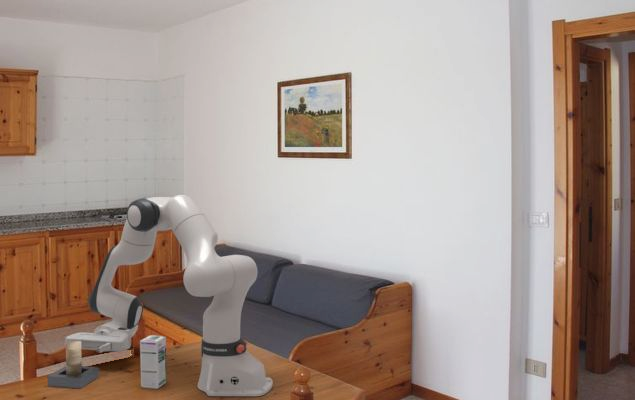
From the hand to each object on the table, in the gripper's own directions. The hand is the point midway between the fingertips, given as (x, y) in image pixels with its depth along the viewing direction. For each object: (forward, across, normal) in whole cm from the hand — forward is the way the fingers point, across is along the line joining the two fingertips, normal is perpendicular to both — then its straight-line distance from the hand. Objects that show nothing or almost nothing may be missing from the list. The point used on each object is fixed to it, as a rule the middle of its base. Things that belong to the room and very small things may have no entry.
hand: (84, 349), depth 197 cm
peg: (+6, 0, +8) cm, 10 cm away
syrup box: (+4, +25, +8) cm, 27 cm away
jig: (+6, 0, +8) cm, 10 cm away
